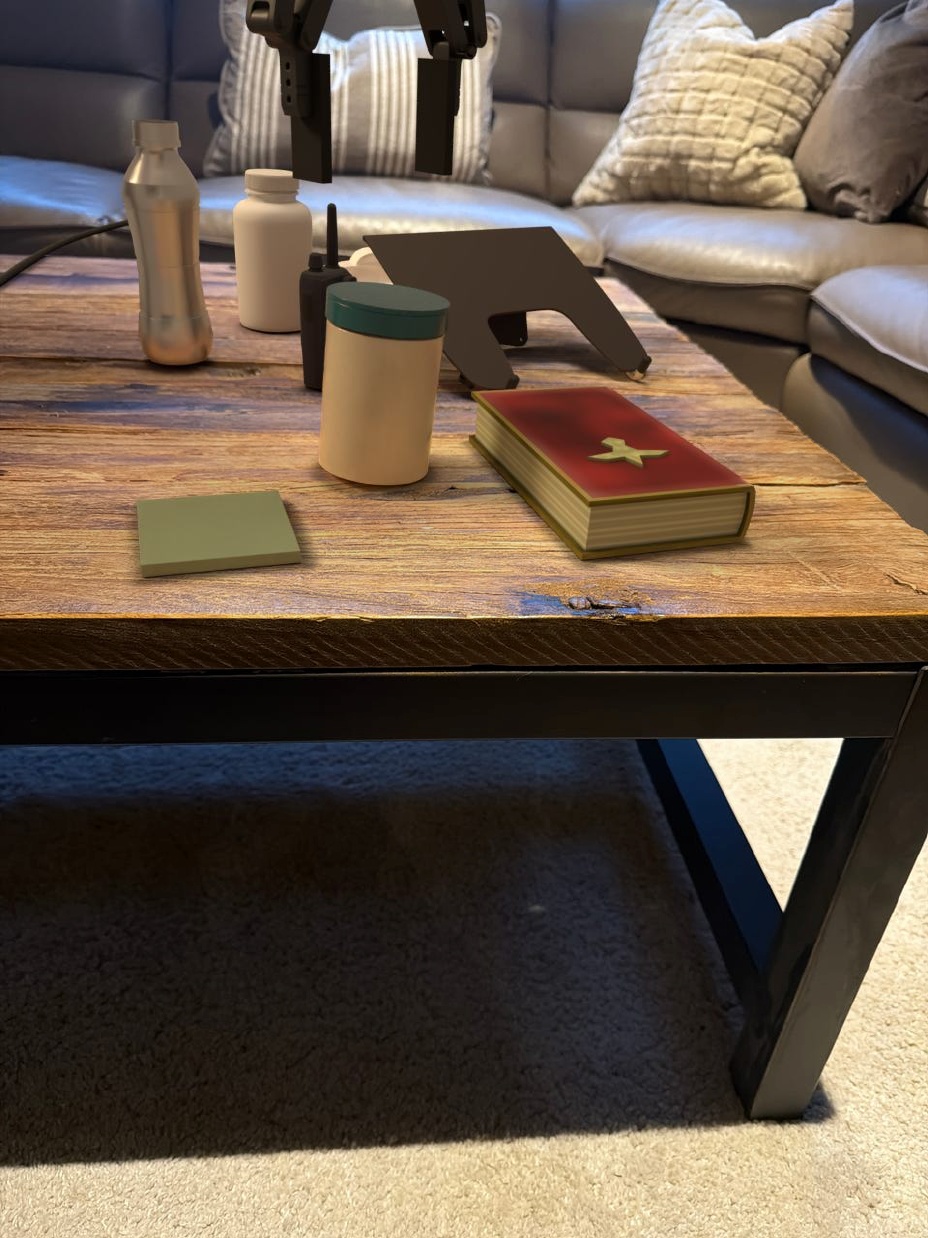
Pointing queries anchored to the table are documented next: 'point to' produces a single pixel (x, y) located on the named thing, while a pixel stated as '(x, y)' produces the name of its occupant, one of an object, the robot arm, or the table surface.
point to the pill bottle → (271, 250)
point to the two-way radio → (318, 302)
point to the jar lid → (387, 309)
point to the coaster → (214, 533)
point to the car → (365, 267)
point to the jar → (378, 405)
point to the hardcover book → (609, 472)
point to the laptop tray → (506, 295)
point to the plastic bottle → (166, 247)
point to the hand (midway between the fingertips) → (376, 176)
